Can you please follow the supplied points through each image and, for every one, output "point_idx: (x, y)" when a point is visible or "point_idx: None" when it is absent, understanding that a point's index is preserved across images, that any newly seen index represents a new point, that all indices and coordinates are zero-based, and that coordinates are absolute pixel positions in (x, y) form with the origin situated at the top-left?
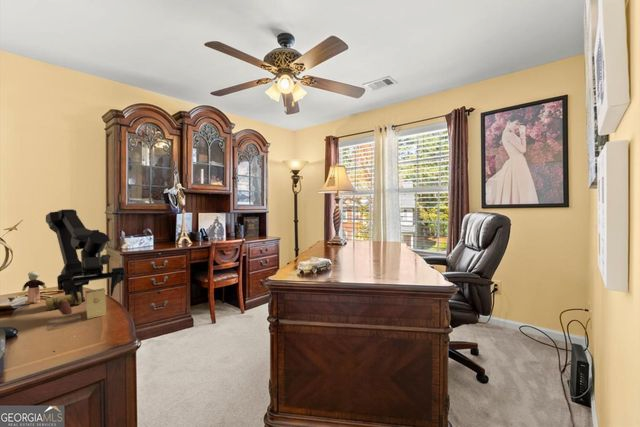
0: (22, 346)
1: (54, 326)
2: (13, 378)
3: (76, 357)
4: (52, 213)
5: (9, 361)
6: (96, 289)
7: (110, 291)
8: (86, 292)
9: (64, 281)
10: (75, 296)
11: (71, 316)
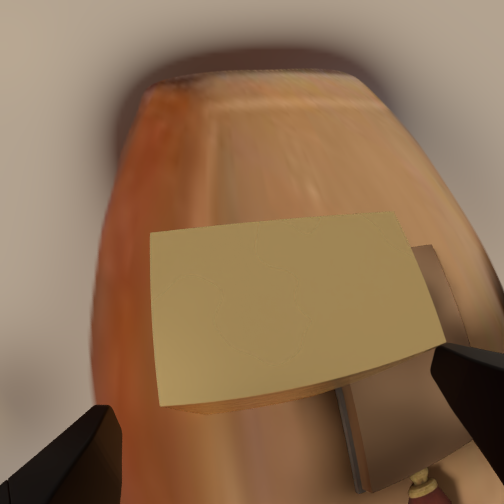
0: (442, 206)
1: (432, 290)
2: (349, 77)
3: (265, 78)
4: None
5: (407, 134)
6: (302, 379)
7: (105, 482)
8: (406, 248)
9: None
10: (487, 353)
11: (409, 439)
